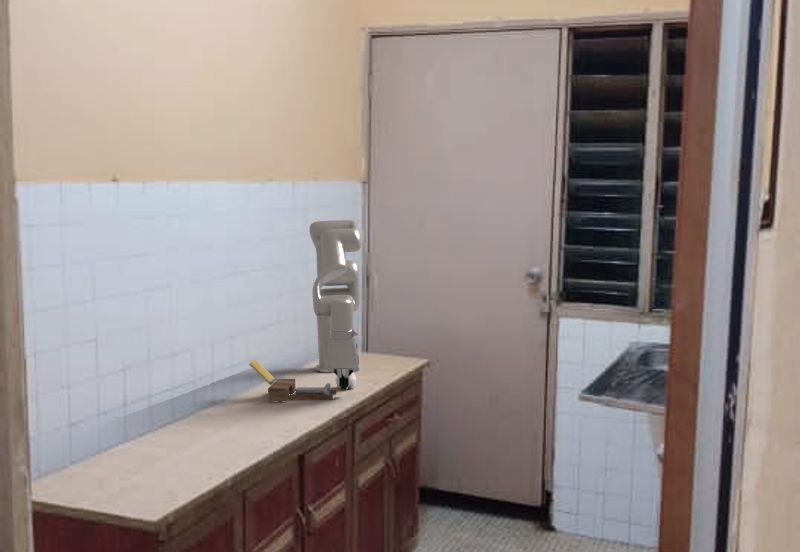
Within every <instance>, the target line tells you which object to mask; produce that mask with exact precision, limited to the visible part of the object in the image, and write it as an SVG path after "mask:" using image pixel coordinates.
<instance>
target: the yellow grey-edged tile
mask: <svg viewBox="0 0 800 552" xmlns="http://www.w3.org/2000/svg"><path fill="white" fill-rule="evenodd" d="M248 365H249V366H250V368H252V369H253V371H255V372H256V373H257V374H258V375H259V376H260V377H261V378H262V379H263V380H264V381H265V382H267V384H269V386H271V385H272V384H273V383H274V382H276V381H277V380H278V378H277V377H274V376H273V375H272V374H271V373H270V372H269V371H268V370H267V369H266V368H265V367H264V366H263V365H262V364H261V363H260V362H259V361H257V360H256V359H254V360H252V361H251V362H249V364H248Z"/></svg>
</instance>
